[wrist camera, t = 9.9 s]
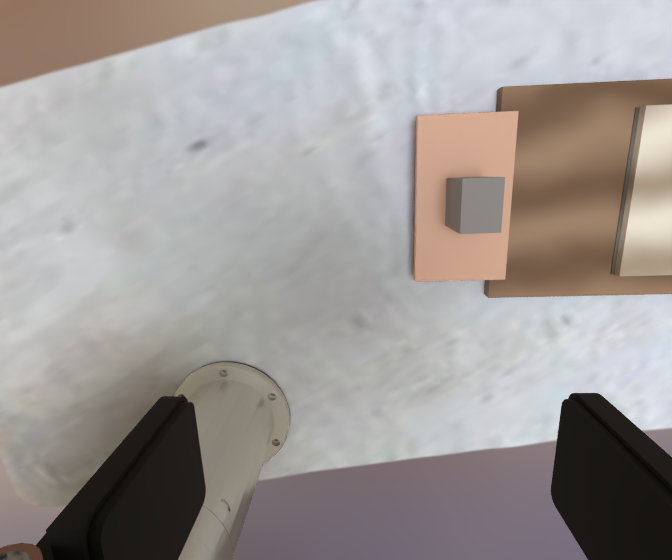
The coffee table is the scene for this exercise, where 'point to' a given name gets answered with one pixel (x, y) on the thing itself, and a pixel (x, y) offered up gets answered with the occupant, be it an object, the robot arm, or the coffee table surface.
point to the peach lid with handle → (463, 195)
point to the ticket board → (590, 190)
